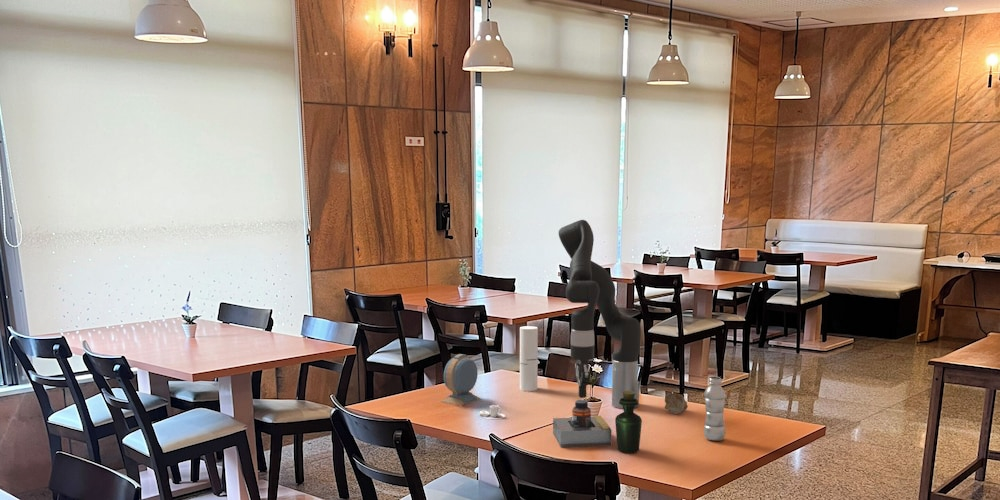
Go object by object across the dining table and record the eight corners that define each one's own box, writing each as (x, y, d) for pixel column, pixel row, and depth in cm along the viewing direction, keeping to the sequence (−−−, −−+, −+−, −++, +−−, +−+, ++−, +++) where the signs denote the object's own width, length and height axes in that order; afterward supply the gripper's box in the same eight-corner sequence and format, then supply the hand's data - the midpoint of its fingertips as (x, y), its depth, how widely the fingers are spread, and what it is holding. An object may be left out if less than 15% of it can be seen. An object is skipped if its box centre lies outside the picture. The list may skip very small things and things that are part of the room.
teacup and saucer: (476, 417, 272) (476, 405, 271) (491, 412, 278) (491, 401, 277) (494, 422, 266) (494, 410, 265) (509, 417, 272) (509, 406, 271)
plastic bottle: (721, 444, 240) (723, 381, 239) (700, 440, 244) (701, 378, 243) (727, 438, 246) (728, 377, 244) (706, 435, 249) (707, 374, 248)
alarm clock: (462, 394, 301) (462, 349, 300) (482, 398, 296) (482, 352, 294) (438, 402, 290) (438, 356, 288) (459, 406, 284) (458, 359, 283)
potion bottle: (624, 456, 230) (624, 397, 228) (609, 448, 237) (610, 390, 236) (647, 452, 233) (647, 394, 232) (632, 444, 240) (632, 388, 239)
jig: (600, 431, 253) (601, 415, 253) (611, 445, 239) (611, 427, 239) (553, 433, 252) (553, 416, 251) (560, 447, 238) (560, 429, 237)
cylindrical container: (537, 391, 306) (537, 329, 304) (519, 391, 306) (519, 329, 304) (537, 386, 313) (537, 326, 311) (519, 386, 313) (519, 326, 311)
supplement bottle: (592, 434, 247) (592, 399, 247) (588, 439, 242) (588, 404, 241) (574, 432, 249) (574, 398, 249) (570, 437, 244) (570, 402, 243)
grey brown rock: (660, 415, 275) (681, 417, 270) (658, 395, 275) (679, 397, 270) (671, 408, 282) (691, 409, 278) (669, 389, 282) (690, 390, 277)
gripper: (599, 347, 237) (598, 402, 238) (589, 339, 250) (589, 391, 252) (575, 347, 236) (575, 403, 238) (566, 339, 249) (566, 392, 251)
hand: (582, 396), depth 245 cm, fingers closed
